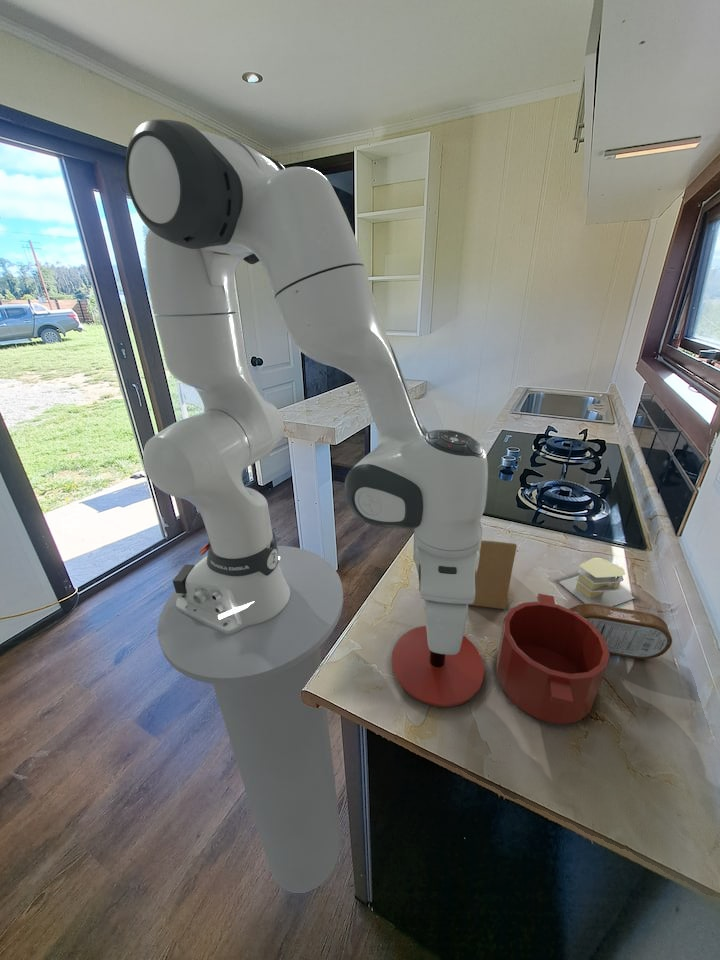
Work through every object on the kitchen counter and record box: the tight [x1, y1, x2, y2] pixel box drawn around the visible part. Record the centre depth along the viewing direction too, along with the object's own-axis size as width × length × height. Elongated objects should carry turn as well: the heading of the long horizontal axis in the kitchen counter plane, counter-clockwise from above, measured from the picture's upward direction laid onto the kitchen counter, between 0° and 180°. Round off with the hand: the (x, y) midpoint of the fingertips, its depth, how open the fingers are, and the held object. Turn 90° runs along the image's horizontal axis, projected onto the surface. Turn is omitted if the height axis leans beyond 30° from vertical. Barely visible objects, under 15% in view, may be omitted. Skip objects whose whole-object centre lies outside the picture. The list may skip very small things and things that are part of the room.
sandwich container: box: [468, 540, 518, 610], centre depth 77 cm, size 9×15×15 cm, turn 168°
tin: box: [568, 603, 673, 660], centre depth 62 cm, size 15×3×8 cm, turn 73°
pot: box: [495, 593, 611, 725], centre depth 57 cm, size 14×19×10 cm
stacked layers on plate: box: [558, 557, 635, 607], centre depth 75 cm, size 10×9×6 cm
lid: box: [391, 625, 485, 708], centre depth 61 cm, size 15×15×6 cm
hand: (440, 623), depth 58 cm, fingers open, 8 cm apart
